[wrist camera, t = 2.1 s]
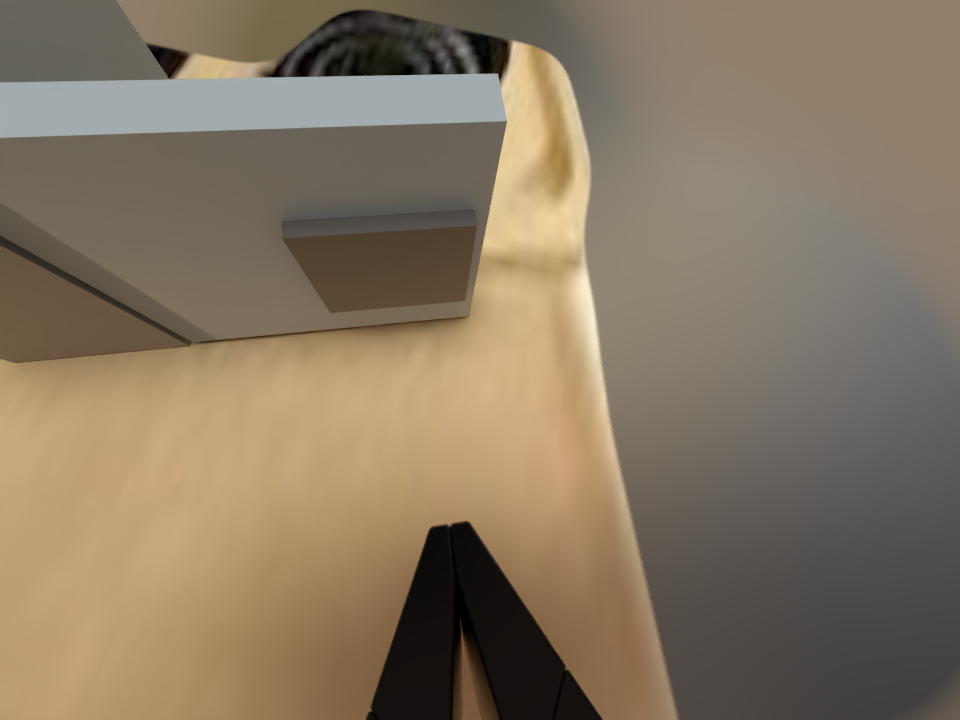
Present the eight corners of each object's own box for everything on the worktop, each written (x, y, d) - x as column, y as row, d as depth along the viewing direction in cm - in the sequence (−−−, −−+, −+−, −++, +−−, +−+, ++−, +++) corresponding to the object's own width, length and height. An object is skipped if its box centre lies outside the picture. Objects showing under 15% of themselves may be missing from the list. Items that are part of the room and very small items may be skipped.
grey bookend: (470, 326, 23) (510, 141, 10) (191, 353, 21) (-175, 168, 8) (445, 149, 26) (452, -163, 13) (199, 159, 24) (-62, -192, 11)
